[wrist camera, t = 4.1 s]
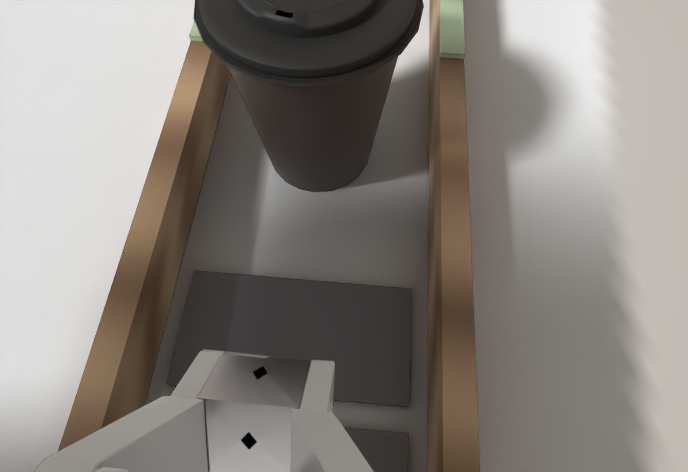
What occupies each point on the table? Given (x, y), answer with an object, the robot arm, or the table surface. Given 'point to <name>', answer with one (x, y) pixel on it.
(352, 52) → the coffee cup
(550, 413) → the table surface
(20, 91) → the table surface
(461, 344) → the trap box
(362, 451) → the mats
